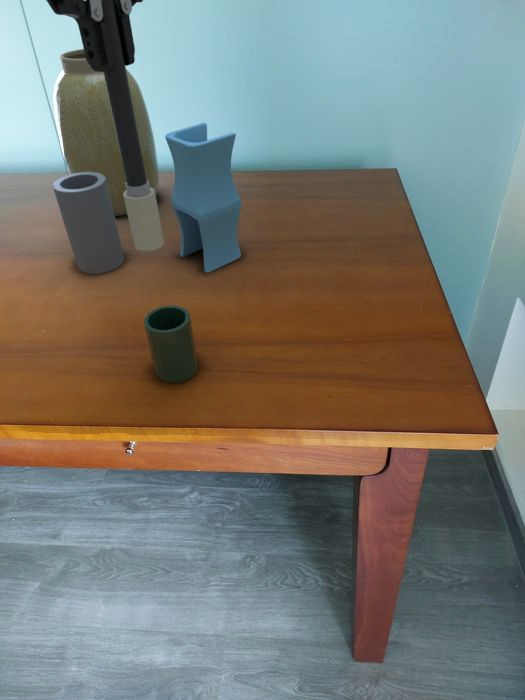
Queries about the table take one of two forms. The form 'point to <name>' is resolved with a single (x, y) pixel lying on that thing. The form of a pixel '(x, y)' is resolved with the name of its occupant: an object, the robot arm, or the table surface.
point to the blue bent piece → (205, 195)
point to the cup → (89, 221)
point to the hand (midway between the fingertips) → (113, 66)
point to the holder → (171, 343)
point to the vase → (98, 127)
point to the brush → (130, 146)
